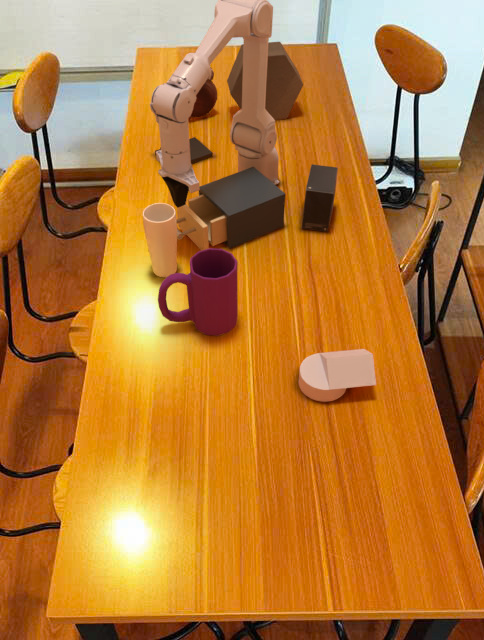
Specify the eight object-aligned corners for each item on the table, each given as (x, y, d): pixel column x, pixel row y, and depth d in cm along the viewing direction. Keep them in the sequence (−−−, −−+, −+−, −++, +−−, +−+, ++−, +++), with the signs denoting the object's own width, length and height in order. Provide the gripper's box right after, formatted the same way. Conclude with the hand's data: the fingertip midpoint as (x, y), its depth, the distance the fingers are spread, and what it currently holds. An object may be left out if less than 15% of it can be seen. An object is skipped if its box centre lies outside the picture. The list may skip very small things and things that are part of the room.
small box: (329, 233, 157) (334, 193, 148) (300, 229, 158) (304, 190, 149) (334, 205, 163) (339, 166, 155) (306, 202, 164) (310, 163, 156)
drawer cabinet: (229, 248, 154) (228, 215, 147) (200, 219, 161) (198, 186, 154) (283, 226, 158) (285, 193, 152) (252, 199, 165) (253, 166, 159)
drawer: (185, 261, 150) (183, 235, 144) (160, 233, 156) (157, 207, 151) (255, 232, 156) (256, 206, 150) (228, 207, 162) (228, 181, 157)
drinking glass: (185, 264, 151) (180, 205, 139) (173, 283, 147) (168, 225, 135) (156, 257, 152) (150, 199, 140) (144, 277, 148) (136, 218, 136)
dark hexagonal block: (307, 86, 190) (269, 23, 176) (313, 100, 185) (274, 36, 171) (256, 122, 196) (215, 64, 182) (260, 136, 191) (218, 78, 177)
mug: (241, 334, 137) (241, 276, 125) (163, 343, 135) (156, 286, 124) (233, 303, 142) (233, 244, 131) (159, 311, 141) (152, 253, 130)
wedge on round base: (361, 360, 132) (294, 367, 131) (366, 336, 126) (296, 342, 126) (373, 396, 126) (303, 403, 125) (379, 372, 121) (306, 379, 120)
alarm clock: (211, 108, 193) (210, 53, 181) (219, 115, 190) (217, 60, 179) (176, 117, 190) (171, 62, 178) (182, 125, 187) (179, 70, 176)
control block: (195, 141, 182) (194, 130, 180) (212, 156, 177) (212, 146, 175) (154, 155, 178) (153, 144, 176) (171, 171, 173) (170, 160, 171)
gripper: (140, 136, 140) (147, 194, 150) (175, 170, 132) (180, 228, 142) (170, 126, 142) (175, 183, 152) (207, 158, 134) (209, 217, 145)
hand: (180, 204), depth 148 cm, fingers closed
